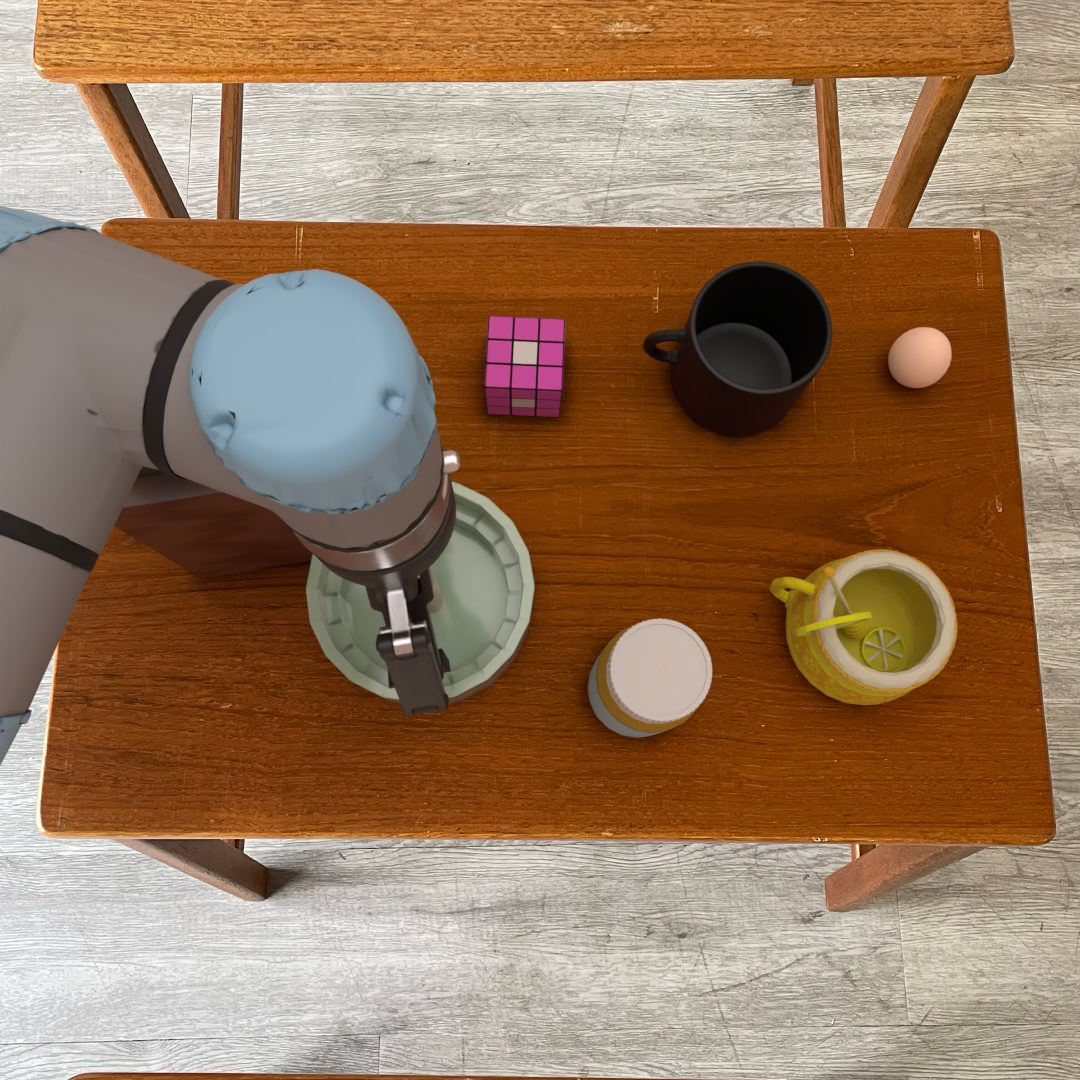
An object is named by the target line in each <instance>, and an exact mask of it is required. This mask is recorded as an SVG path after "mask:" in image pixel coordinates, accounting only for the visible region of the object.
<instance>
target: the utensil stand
mask: <svg viewBox="0 0 1080 1080" xmlns="http://www.w3.org/2000/svg"><path fill="white" fill-rule="evenodd" d="M114 527H116V528H117V529H119V530H120V531H122V532H123V533H126V534H127V535H129V536H130V537H131V538H133V539H135V540H137V541H138V542H140V543H142V544H144V545H145V546H147V547H148V548H150V549H152V550H153V551H155V552H157V554H160V555H161V556H163V557H165V558H166V559H168V560H170V562H172V563H174V564H176V565H178V566H179V567H181V568H182V569H184V570H186V571H188V572H189V573H191V574H192V575H194V576H196V577H198V578H199V579H204V578H205V579H206V578H213V577H218V576H225V575H231V574H236V573H242V572H248V571H249V572H250V571H256V570H260V569H261V570H262V569H268V568H274V567H281V566H287V565H292V564H299V563H304V562H311V559H312V555H313V553H312V552H311V551H310V550H308V549H307V548H306V547H305V546H304V545H303V543H302V542H301V541H300V540H299V539H298V537H297V536H296V535H295V534H294V533H293V531H292V530H291V529H290V528H289V527H288V526H287V524H286V523H285V522H284V521H283V520H282V519H281V518H280V517H279V516H278V515H277V514H276V513H275V512H273V511H271V510H269V509H267V508H265V507H262V506H260V505H257V504H254V503H251V502H249V501H246V500H243V499H240V498H238V497H235V496H232V495H229V494H226V493H224V492H221V491H218V490H215V489H213V488H210V487H207V486H204V485H202V484H199V483H196V482H193V481H191V480H189V479H179V478H176V477H174V476H171V475H168V474H166V473H163V472H161V471H160V470H157V469H152V468H148V467H144V466H143V468H142V469H141V470H140V472H139V474H138V476H137V478H136V480H135V483H134V485H133V487H132V489H131V491H130V493H129V495H128V497H127V500H126V502H125V504H124V506H123V508H122V510H121V512H120V514H119V517H118V519H117V521H116V523H115V525H114Z"/></svg>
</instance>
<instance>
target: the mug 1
mask: <svg viewBox="0 0 1080 1080" xmlns="http://www.w3.org/2000/svg"><path fill="white" fill-rule="evenodd" d="M691 305H692V306H691V308H690V311H689V314H688V316H687V319H686V322H685V325H684V327H681V328H680V327H679V328H675V329H673V328H671V329H670V328H669V329H662V330H661V329H660V330H658V331H654V332H652V333H649V334H648V335H647V336H646V337H645V338H644V340H643V345H642V350H643V352H644V353H645V354H647V355H648V357H650V358H651V359H654V360H656V361H657V362H661V363H668V364H669V365H670V366H671V370H670V372H671V373H670V374H671V383H672V384H671V385H672V388H673V389H672V390H673V392H674V394H675V398H676V399H677V401H678V403H679V404H680V407H681V408H682V409H683V411H684V412H685V413H686V414H687V416H689V417H690V418H691V419H692V420H693V421H694V422H695V423H697V424H698V425H699V426H701V427H703V428H704V429H707V430H708V431H711V432H712V433H716V434H719V435H723V436H729V437H750V436H754V435H759V434H761V433H764V432H766V431H767V430H770V429H772V428H773V427H774V426H776V425H778V424H779V423H780V422H781V421H783V420H784V418H785V417H786V416H787V415H788V413H789V412H790V411H791V409H792V408H793V407H794V406H795V404H796V403H797V401H798V400H799V399H800V397H801V396H802V394H803V393H804V392H805V390H806V389H807V388H808V386H809V385H810V384H811V382H812V381H813V379H814V378H815V377H816V375H817V374H818V373H819V372H820V370H821V369H822V367H823V366H824V364H825V363H826V360H827V358H828V356H829V354H830V351H831V348H832V343H833V334H834V333H833V321H832V317H831V313H830V310H829V307H828V305H827V303H826V301H825V299H824V297H823V295H822V294H821V292H820V291H819V290H818V289H817V288H816V286H815V285H814V284H813V283H812V282H811V281H810V280H808V278H806V277H805V276H803V275H802V274H800V273H799V272H798V271H795V270H794V269H792V268H790V267H787V266H785V265H781V264H779V263H774V262H769V261H746V262H741V263H737V264H734V265H731V266H729V267H726V268H724V269H721V271H719V272H717V273H716V274H714V275H713V276H711V278H710V279H709V280H707V281H706V282H705V283H704V284H703V286H702V287H701V288H700V290H699V291H698V293H697V294H696V297H695V299H694V300H693V303H692V304H691ZM666 342H677V343H678V344H677V347H676V350H673V349H672V350H665V349H662V348H659V347H658V346H657V345H658V344H661V343H666Z"/></svg>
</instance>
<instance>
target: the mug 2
mask: <svg viewBox="0 0 1080 1080" xmlns="http://www.w3.org/2000/svg"><path fill="white" fill-rule="evenodd" d="M786 589H790V590H789V591H787V590H786ZM768 590H769V592H770V593H771V594H772V595H773V596H774V597H775V598H776V599H777V600H779V601H781V602H782V603H785V604H784V607H785V608H786V615H785V616H786V617H785V638H786V643H787V646H788V649H789V653H790V656H791V658H792V660H793V662H794V664H795V666H796V668H797V669H798V671H799V672H800V674H802V675H803V677H804V678H805V679H806V680H807V681H808V683H809V684H810V685H811V686H813V687H814V688H816V689H817V690H818V691H820V692H821V693H822V694H824V696H827V697H829V698H832V699H834V700H837V701H839V702H842V703H845V704H850V705H860V706H872V705H880V704H885V703H889V702H891V701H894V700H897V699H898V698H901V697H903V696H905V695H907V694H908V693H910V692H912V691H913V690H914V689H917V688H919V687H921V686H923V685H925V684H927V683H928V682H929V681H931V680H933V679H934V678H935V677H936V676H938V675H939V674H940V673H941V671H943V669H944V668H945V667H946V665H947V663H948V662H949V659H950V657H951V655H952V654H953V650H954V649H955V646H956V642H957V638H958V636H957V635H958V632H959V631H958V620H957V613H956V612H957V611H956V607H955V604H954V601H953V597H952V596H951V592H950V591H949V590H948V588H947V587H946V585H945V583H944V582H943V581H942V580H941V579H940V577H939V576H938V575H937V574H936V572H935V571H934V570H932V569H931V568H930V567H929V566H928V565H927V564H925V563H924V562H923V561H921V560H919V559H917V558H915V557H914V556H910V555H908V554H906V553H904V552H903V553H902V552H900V551H898V550H892V549H882V548H879V549H870V550H865V551H862V552H857V553H854V554H852V555H848V556H845V557H841V558H838V559H834V560H832V561H829V562H827V563H824V564H823V565H821V566H820V567H818V568H817V569H815V570H813V571H812V572H811V573H810V574H809V575H808V576H807V577H806V578H804V579H801V578H797V577H793V576H782V577H778V578H775V579H773V580H772V582H771V584H770V585H769V586H768Z"/></svg>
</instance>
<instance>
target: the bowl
mask: <svg viewBox="0 0 1080 1080" xmlns="http://www.w3.org/2000/svg"><path fill="white" fill-rule="evenodd" d="M451 482H452V486H453V490H454V495H455V501H456V520H455V525H454V530H453V533H452V536H451V538H450V541H449V543H448V545H447V546H446V548H445V550H444V551H443V553H442V554H441V555H440V557H439V558H438V559H437V560H436V561H435V562H434V563H433V564H432V565H431V566H430V567H431V569H432V571H433V574H434V576H435V578H436V581H437V583H438V585H439V587H440V590H441V592H442V594H443V604H442V606H441V608H440V609H439V610H438V611H436V612H433V613H430V615H431V619H432V624H433V628H434V633H435V637H436V642H437V646H438V649H441V648H442V649H443V651H444V653H445V654H446V656H447V658H448V659H449V663H450V670H451V671H450V672H445V673H444V677H443V680H442V682H443V686H444V689H445V693H446V694H448V698H449V703H448V705H449V704H455V703H459V702H462V701H464V700H466V699H467V698H469V697H471V696H473V695H475V694H478V693H479V692H481V691H484V690H485V689H487V688H489V687H490V686H492V685H493V684H494V683H495V682H496V680H497V679H499V677H501V675H502V674H503V673H504V672H505V671H506V670H507V669H508V668H509V667H510V666H512V664H513V663H514V661H515V660H516V658H517V657H518V655H519V652H520V650H521V648H522V646H523V644H524V642H525V641H526V639H527V636H528V634H529V632H530V630H531V629H530V628H531V621H532V615H533V610H534V609H533V608H534V602H535V591H536V590H535V589H536V587H535V586H536V584H535V578H534V572H533V567H532V566H533V565H532V560H531V555H530V552H529V549H528V547H527V546H526V543H525V541H524V540H523V538H522V536H521V534H520V532H519V530H518V529H517V526H516V525H515V523H514V521H513V520H512V519H511V518H510V517H509V516H508V515H507V514H506V513H505V512H503V510H502V509H500V507H499V506H497V504H495V503H494V502H493V501H492V500H491V499H490V498H489V497H487V496H486V495H484V494H482V493H479V492H477V491H476V490H473V489H471V488H469V487H467V486H465V485H463V484H461V483H458V482H456V481H451ZM305 594H306V603H307V610H308V619H309V624H310V627H311V629H312V631H313V633H314V635H315V638H316V639H317V642H318V644H319V645H320V648H321V649H322V652H323V654H324V656H325V657H326V659H328V660H329V661H330V662H331V663H332V664H333V665H334V666H335V667H336V668H337V669H338V670H339V671H340V672H341V673H342V675H344V676H345V678H346V679H348V680H349V681H350V682H352V684H355V685H357V686H359V687H361V688H363V690H367V691H368V692H370V693H372V694H374V695H376V696H378V697H380V698H382V699H384V700H385V701H388V702H390V703H393V704H399V705H401V703H400V700H399V698H398V695H397V692H396V689H395V688H391V689H390V688H389V683H388V668H387V665H386V663H385V661H384V660H383V659H382V658H381V657H380V654H379V651H377V650H376V638H377V634H379V628H380V627H385V626H386V625H385V621H384V618H383V614H382V613H381V612H380V611H376V610H374V609H372V608H371V606H370V602H369V598H368V595H367V591H366V588H365V586H362V585H359V584H356V583H353V582H350V581H348V580H345V579H343V578H341V577H339V576H338V575H336V574H335V573H333V572H332V571H330V570H329V569H328V568H327V567H326V566H325V565H324V564H323V563H322V562H321V561H320V560H319V559H318V558H317V557H316V556H315V555H314V554H313V555H312V559H311V561H310V565H309V569H308V575H307V580H306V584H305Z"/></svg>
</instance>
